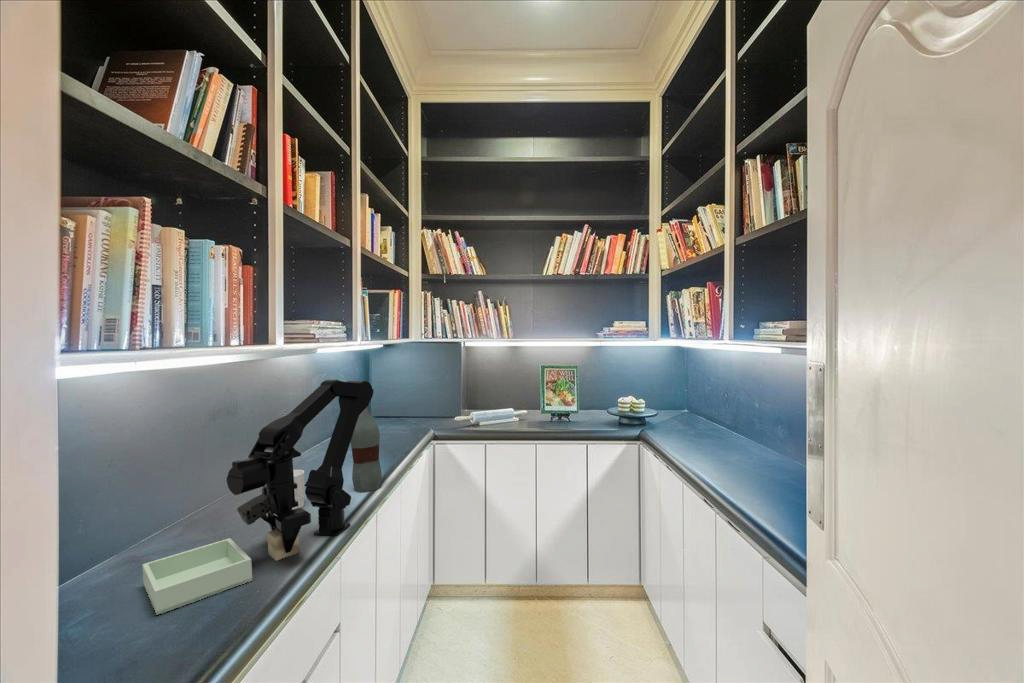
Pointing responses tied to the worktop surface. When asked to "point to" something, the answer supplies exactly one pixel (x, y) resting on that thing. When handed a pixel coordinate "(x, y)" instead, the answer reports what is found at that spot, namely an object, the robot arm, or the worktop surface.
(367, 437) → the bottle
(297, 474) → the white cup
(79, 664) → the worktop surface
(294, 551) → the birch block
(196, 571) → the sage bin
